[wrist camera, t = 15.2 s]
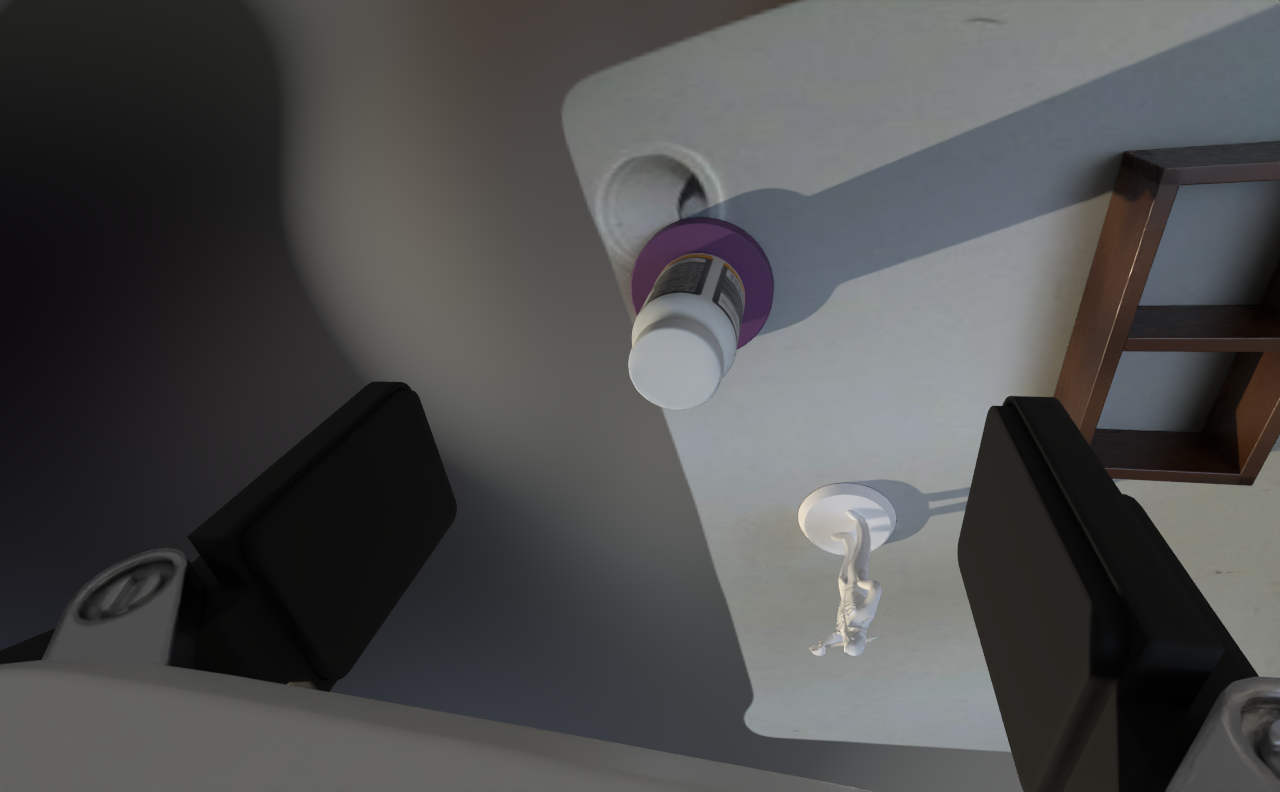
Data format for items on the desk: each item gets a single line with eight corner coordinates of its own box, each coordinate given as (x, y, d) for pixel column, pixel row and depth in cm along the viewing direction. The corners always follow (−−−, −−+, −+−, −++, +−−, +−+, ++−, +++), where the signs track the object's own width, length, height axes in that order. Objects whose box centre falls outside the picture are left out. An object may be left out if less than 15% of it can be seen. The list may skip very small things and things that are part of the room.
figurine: (826, 469, 44) (832, 601, 34) (915, 506, 43) (949, 650, 34) (782, 530, 48) (776, 664, 38) (864, 565, 48) (880, 708, 38)
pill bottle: (647, 319, 39) (606, 399, 31) (669, 237, 36) (629, 302, 28) (730, 346, 39) (711, 434, 31) (760, 265, 35) (747, 339, 27)
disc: (626, 220, 37) (621, 226, 36) (774, 213, 35) (773, 219, 34) (642, 349, 42) (638, 357, 41) (773, 350, 39) (772, 358, 38)
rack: (1124, 151, 30) (1164, 167, 26) (1356, 135, 27) (1432, 152, 24) (1041, 437, 38) (1063, 476, 35) (1211, 443, 36) (1252, 486, 33)
